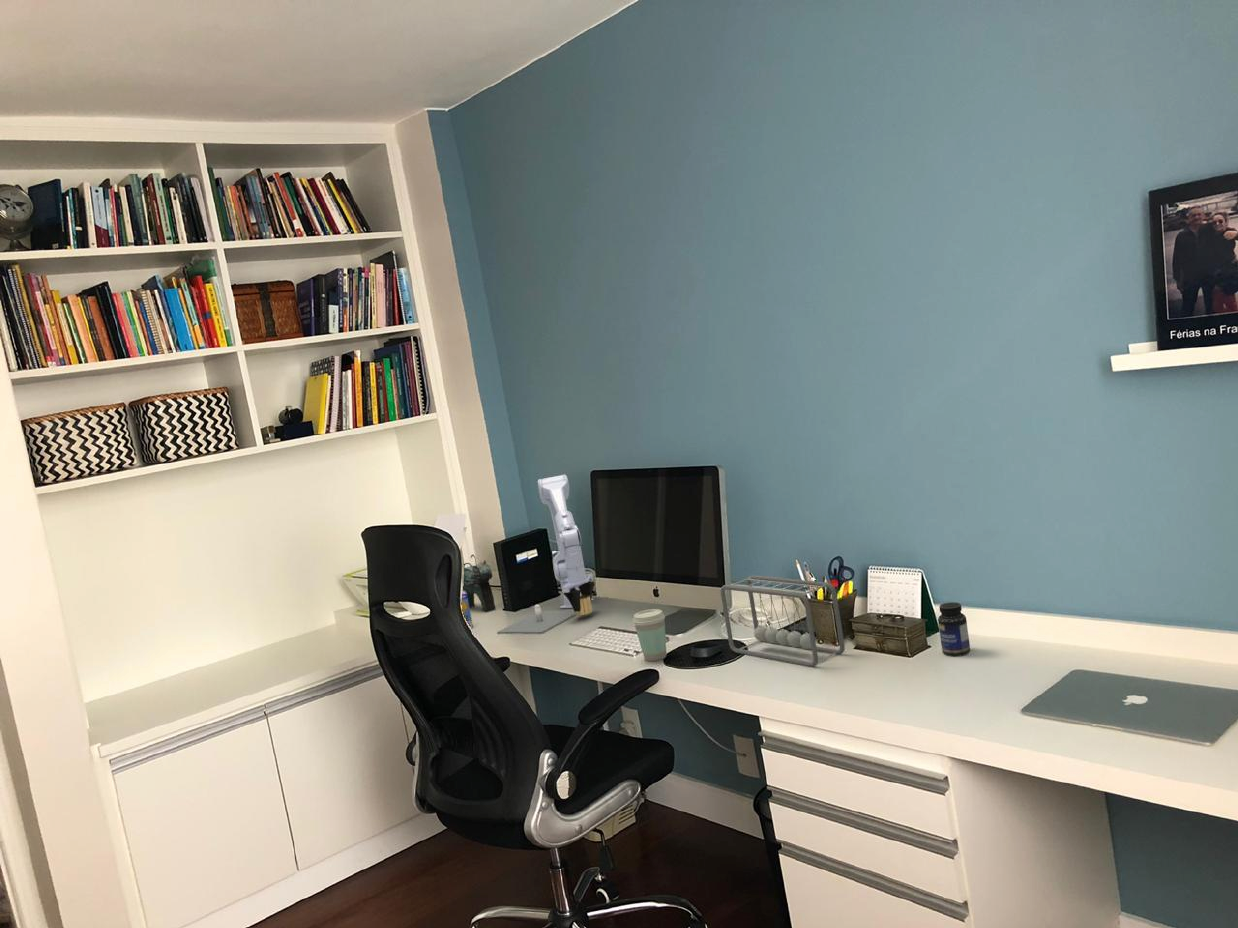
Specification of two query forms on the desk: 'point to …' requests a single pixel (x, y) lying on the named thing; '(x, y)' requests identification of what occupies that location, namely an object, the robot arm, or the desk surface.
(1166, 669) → the desk surface
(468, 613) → the ink cartridge box
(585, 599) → the wooden link ring
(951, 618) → the pill bottle
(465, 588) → the toy ray gun
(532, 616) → the grey square plate
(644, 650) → the coffee cup
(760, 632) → the newton's cradle
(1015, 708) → the desk surface
